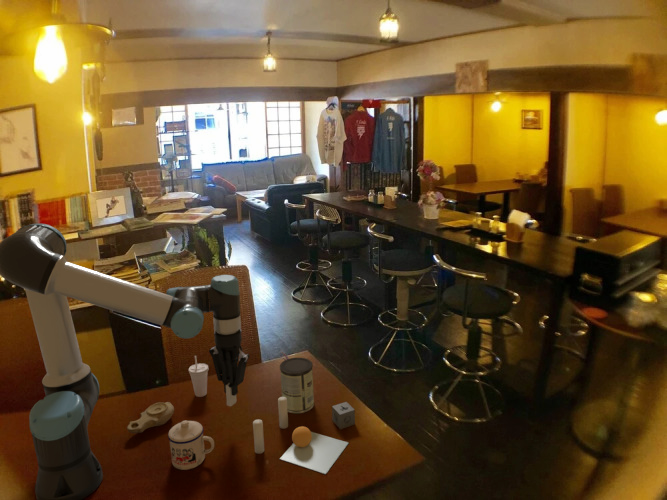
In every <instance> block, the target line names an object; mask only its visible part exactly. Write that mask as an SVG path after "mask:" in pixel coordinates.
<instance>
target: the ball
mask: <svg viewBox="0 0 667 500" xmlns="http://www.w3.org/2000/svg"><path fill="white" fill-rule="evenodd" d="M311 432H312V431H311V430H310V429H309V428H308V427H306V426H303V425H302V426H298V427H296V428H295V429H294V430H293V432H292V435H291V440H292V442H293V443H294V444H295V445H296V446H298V447H306V446H307V445H309V443H310V442H311V439H312V434H311Z"/></svg>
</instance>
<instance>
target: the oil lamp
mask: <svg viewBox="0 0 667 500" xmlns="http://www.w3.org/2000/svg"><path fill="white" fill-rule="evenodd" d="M174 412H175V406H174V405H173V404H172V403H171V402H170V401H167V402H156V403H153V404H151V405H150V406H148V407H147V408H146V409H145V410H144V411H142V412H140V418H139V419H136V420H134V421H133V420H132V421H129V424H128V425H127V426H126V429H127V431H128V432H129V433H131V434H138V433H139V434H140V433H141V434H142V433H143V432H144V431H145V430H147V429H149V428H153V427H160V426H163V425H164V424H166V423H167V422H169V420H170V419H171V418H172V416H173V414H175V413H174Z"/></svg>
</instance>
